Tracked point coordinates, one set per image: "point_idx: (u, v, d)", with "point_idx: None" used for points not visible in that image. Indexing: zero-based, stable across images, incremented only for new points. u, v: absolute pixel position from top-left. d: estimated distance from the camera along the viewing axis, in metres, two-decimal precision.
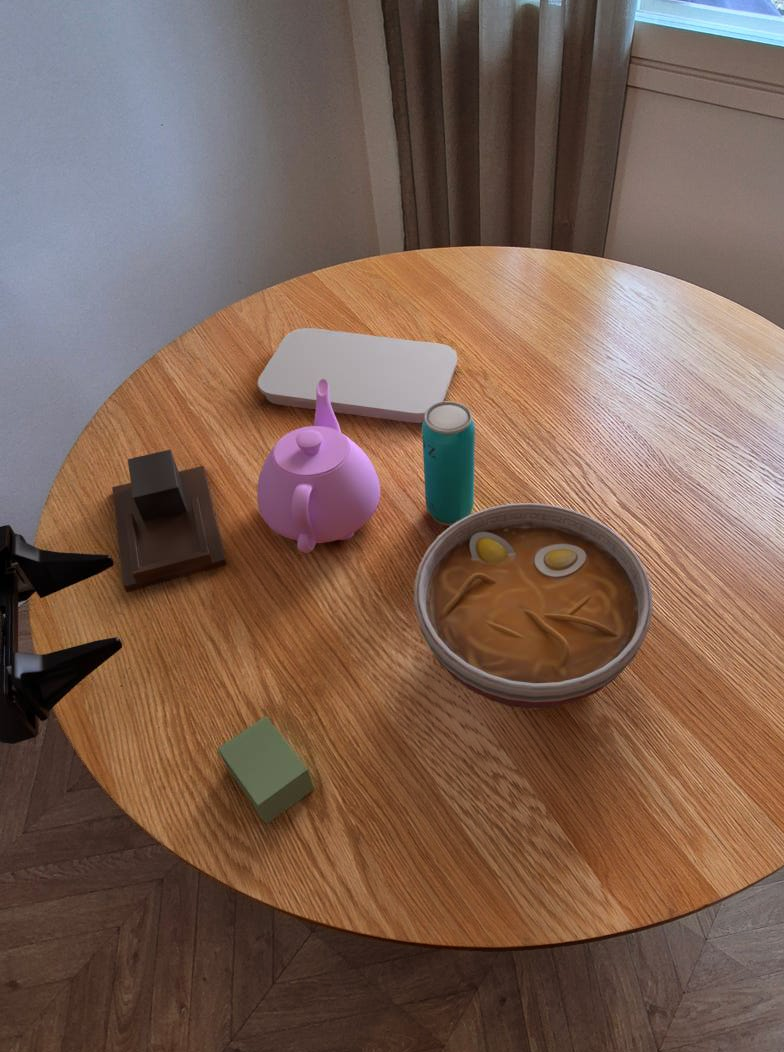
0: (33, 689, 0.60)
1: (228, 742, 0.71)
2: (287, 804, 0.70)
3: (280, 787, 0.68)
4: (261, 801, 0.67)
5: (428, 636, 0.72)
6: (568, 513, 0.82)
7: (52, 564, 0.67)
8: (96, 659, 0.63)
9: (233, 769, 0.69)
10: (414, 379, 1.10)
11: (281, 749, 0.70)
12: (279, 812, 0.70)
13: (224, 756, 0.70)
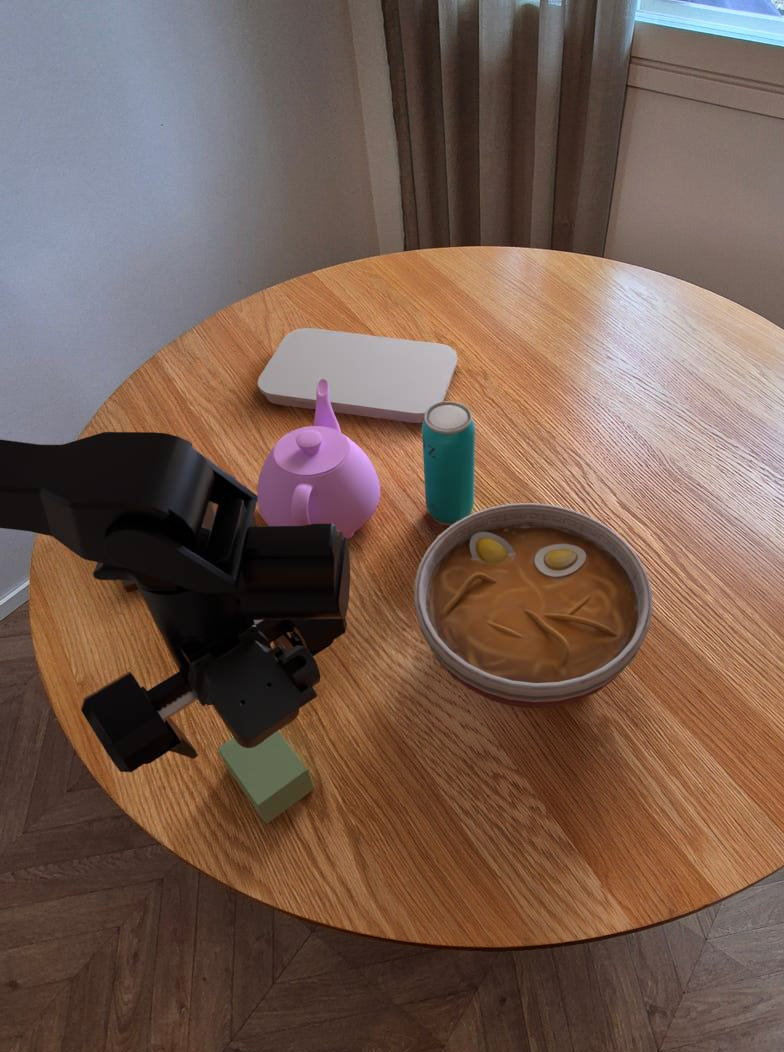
0: None
1: (228, 742, 0.71)
2: (287, 804, 0.70)
3: (280, 787, 0.68)
4: (261, 801, 0.67)
5: (428, 636, 0.72)
6: (568, 513, 0.82)
7: None
8: None
9: (233, 769, 0.69)
10: (414, 379, 1.10)
11: (281, 749, 0.70)
12: (279, 812, 0.70)
13: (224, 756, 0.70)
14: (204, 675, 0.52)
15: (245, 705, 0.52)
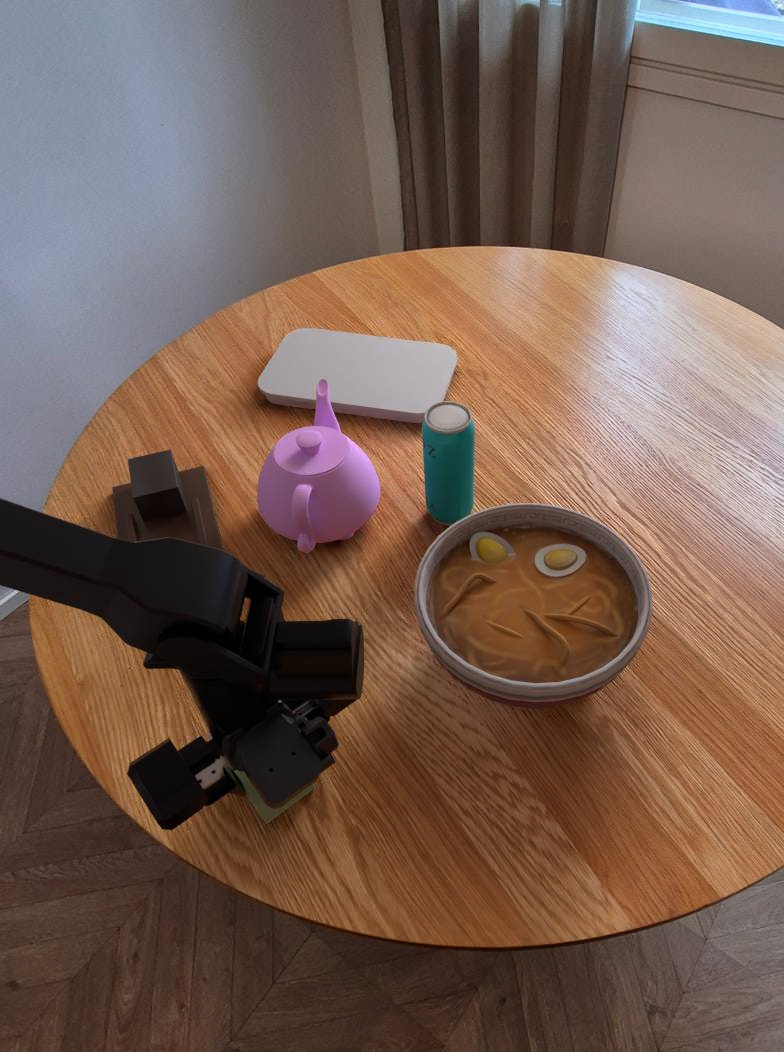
0: None
1: None
2: (287, 804, 0.70)
3: None
4: (261, 801, 0.67)
5: (428, 636, 0.72)
6: (568, 513, 0.82)
7: None
8: None
9: None
10: (414, 379, 1.10)
11: None
12: (279, 812, 0.70)
13: None
14: (237, 746, 0.60)
15: (273, 773, 0.59)
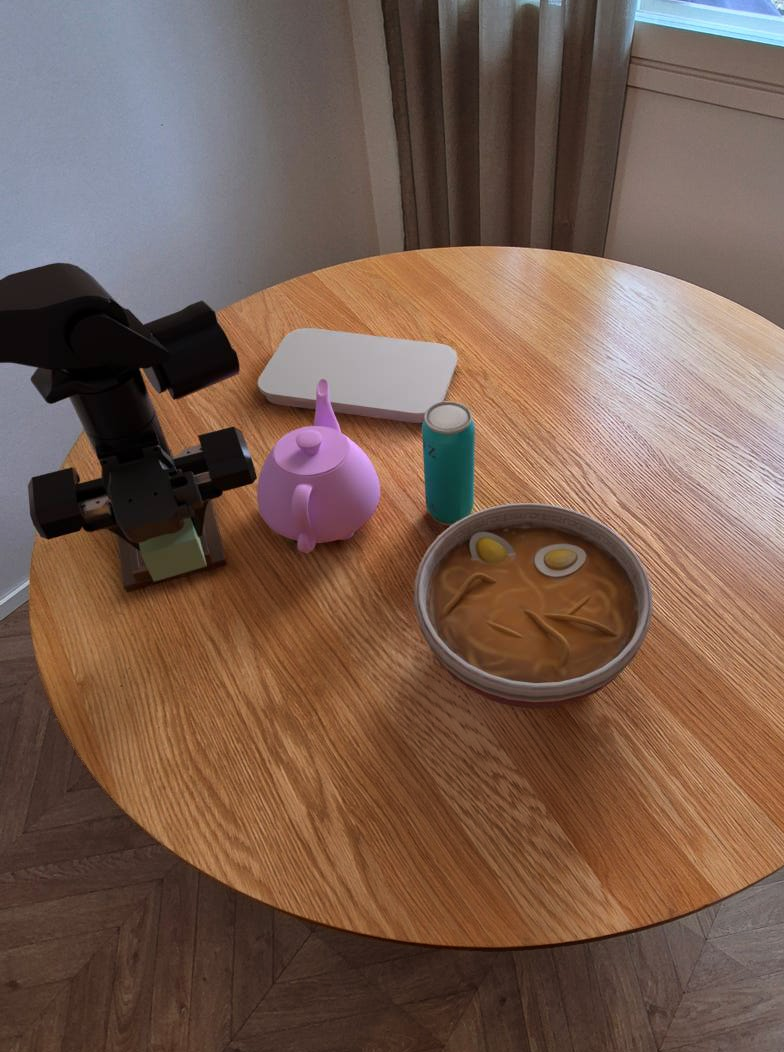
0: None
1: None
2: (176, 569, 0.75)
3: (166, 546, 0.73)
4: (146, 552, 0.72)
5: (428, 636, 0.72)
6: (568, 513, 0.82)
7: None
8: None
9: None
10: (414, 379, 1.10)
11: None
12: (167, 574, 0.75)
13: None
14: (109, 473, 0.65)
15: (131, 503, 0.64)
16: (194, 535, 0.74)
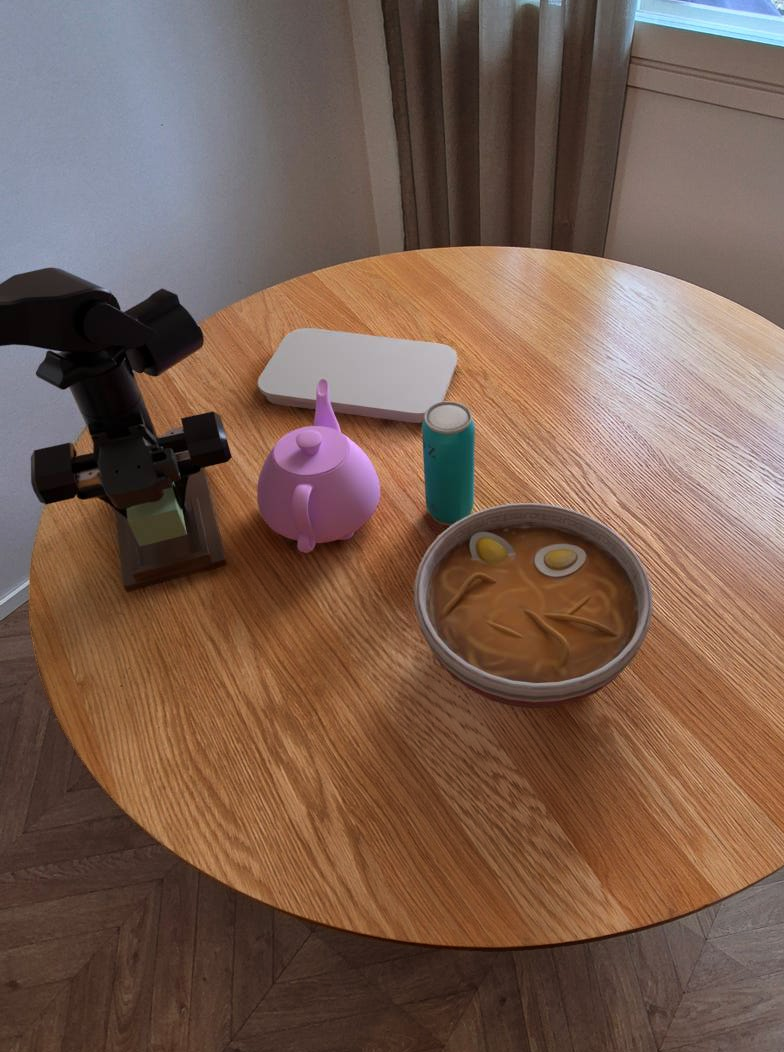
0: None
1: None
2: (159, 536, 0.85)
3: (150, 515, 0.83)
4: (132, 519, 0.82)
5: (428, 636, 0.72)
6: (568, 513, 0.82)
7: (174, 482, 0.84)
8: None
9: None
10: (414, 379, 1.10)
11: (166, 491, 0.85)
12: (151, 540, 0.85)
13: None
14: (99, 448, 0.75)
15: (117, 474, 0.74)
16: (175, 506, 0.83)
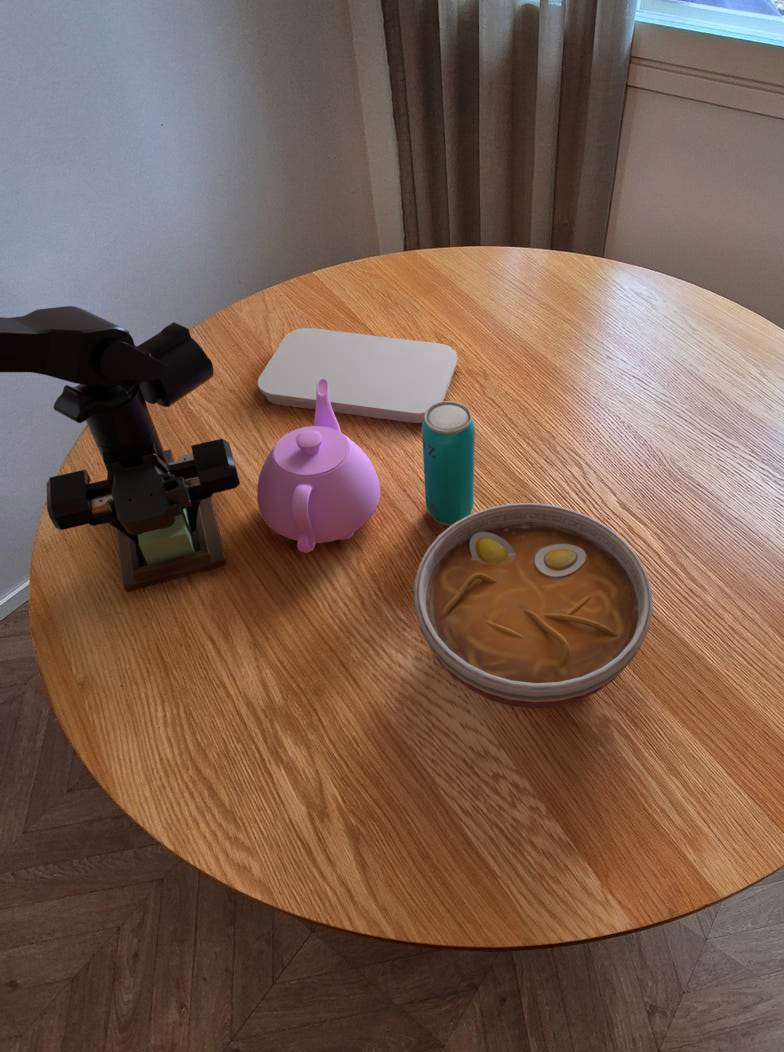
0: None
1: None
2: None
3: (161, 539, 0.85)
4: (143, 543, 0.85)
5: (428, 636, 0.72)
6: (568, 513, 0.82)
7: None
8: None
9: None
10: (414, 379, 1.10)
11: None
12: None
13: None
14: (113, 476, 0.78)
15: (131, 502, 0.77)
16: (185, 530, 0.86)
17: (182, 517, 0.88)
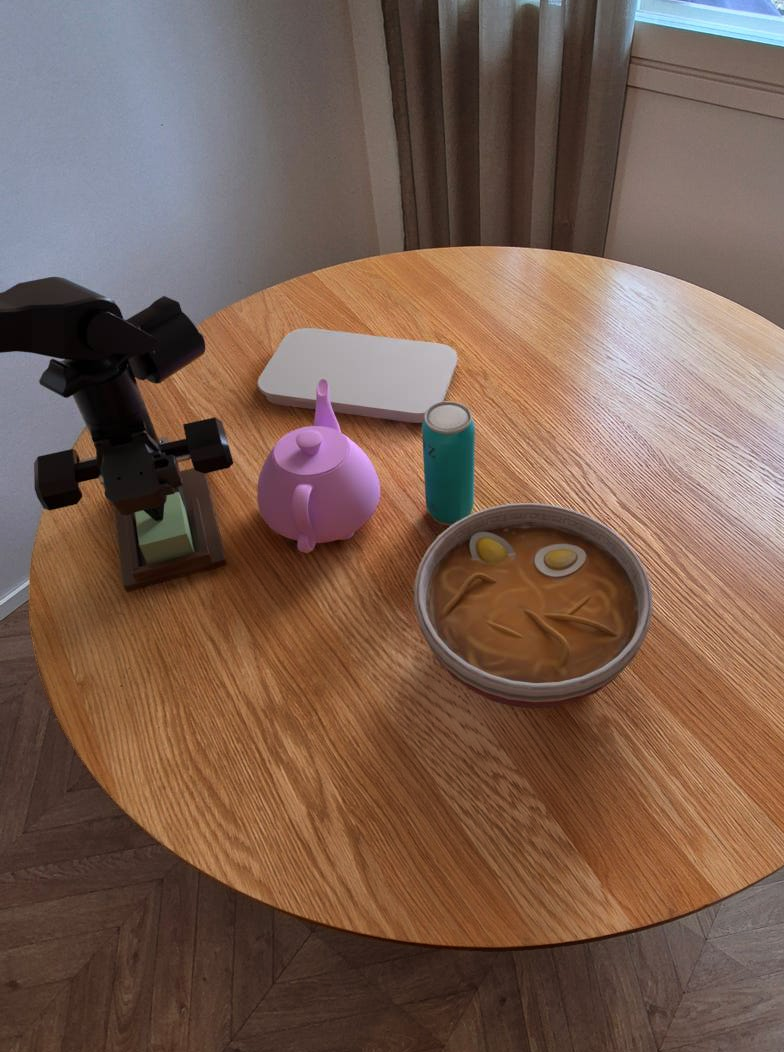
0: None
1: None
2: None
3: (161, 539, 0.85)
4: (143, 543, 0.85)
5: (428, 636, 0.72)
6: (568, 513, 0.82)
7: None
8: None
9: (136, 518, 0.87)
10: (414, 379, 1.10)
11: (176, 515, 0.88)
12: None
13: None
14: (102, 454, 0.75)
15: (120, 481, 0.74)
16: (185, 530, 0.86)
17: (182, 517, 0.88)
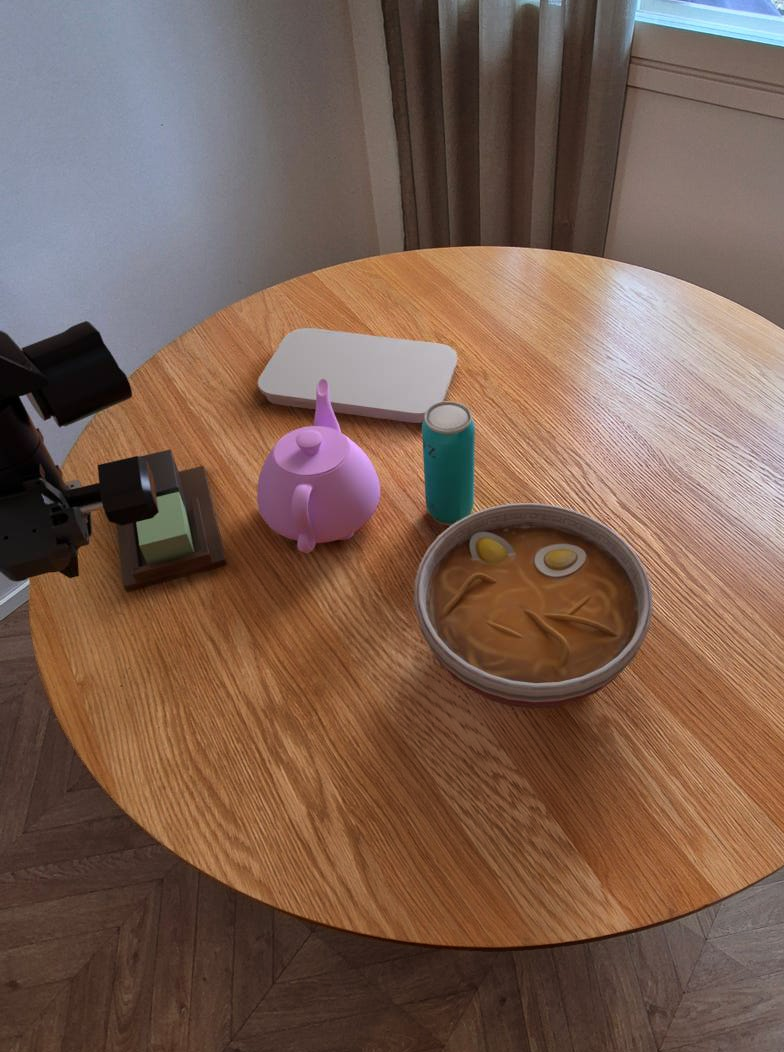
0: None
1: None
2: None
3: (161, 539, 0.85)
4: (143, 543, 0.85)
5: (428, 636, 0.72)
6: (568, 513, 0.82)
7: None
8: None
9: None
10: (414, 379, 1.10)
11: (176, 515, 0.88)
12: None
13: None
14: None
15: (7, 541, 0.60)
16: (185, 530, 0.86)
17: (182, 517, 0.88)
